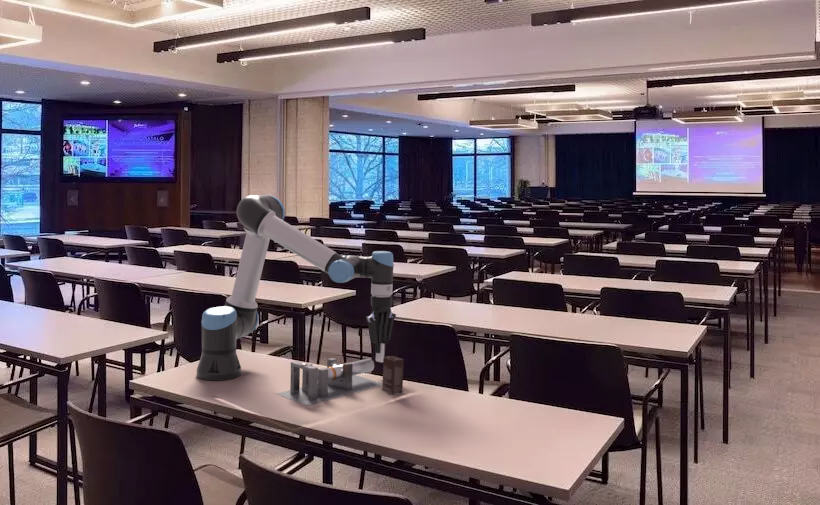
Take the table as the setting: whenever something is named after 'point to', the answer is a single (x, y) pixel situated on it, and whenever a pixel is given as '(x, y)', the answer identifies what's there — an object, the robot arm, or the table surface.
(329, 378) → the tube
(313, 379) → the frame
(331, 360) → the grey tube support frame
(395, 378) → the box
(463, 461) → the table surface
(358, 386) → the board
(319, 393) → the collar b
